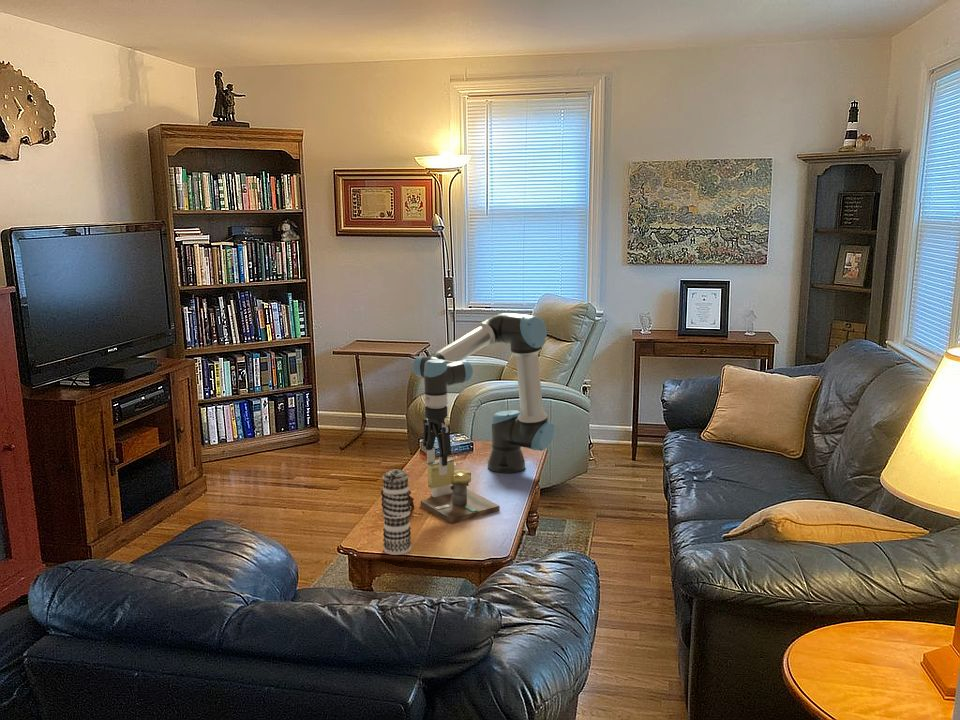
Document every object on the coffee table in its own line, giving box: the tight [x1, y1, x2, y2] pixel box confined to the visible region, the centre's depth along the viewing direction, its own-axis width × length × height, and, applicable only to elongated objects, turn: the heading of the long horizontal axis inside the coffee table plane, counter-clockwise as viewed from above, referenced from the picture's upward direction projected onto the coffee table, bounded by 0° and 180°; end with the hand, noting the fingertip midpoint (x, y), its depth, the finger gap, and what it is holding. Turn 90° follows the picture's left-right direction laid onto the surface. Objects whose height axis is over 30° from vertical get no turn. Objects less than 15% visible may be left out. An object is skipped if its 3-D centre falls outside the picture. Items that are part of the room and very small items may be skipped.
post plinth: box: [420, 483, 501, 525], centre depth 277 cm, size 20×20×10 cm
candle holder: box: [430, 459, 457, 498], centre depth 289 cm, size 10×10×12 cm
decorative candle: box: [380, 468, 412, 556], centre depth 243 cm, size 9×9×25 cm
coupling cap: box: [427, 457, 472, 489], centre depth 273 cm, size 16×8×8 cm, turn 124°
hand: (437, 471), depth 270 cm, fingers open, 7 cm apart
